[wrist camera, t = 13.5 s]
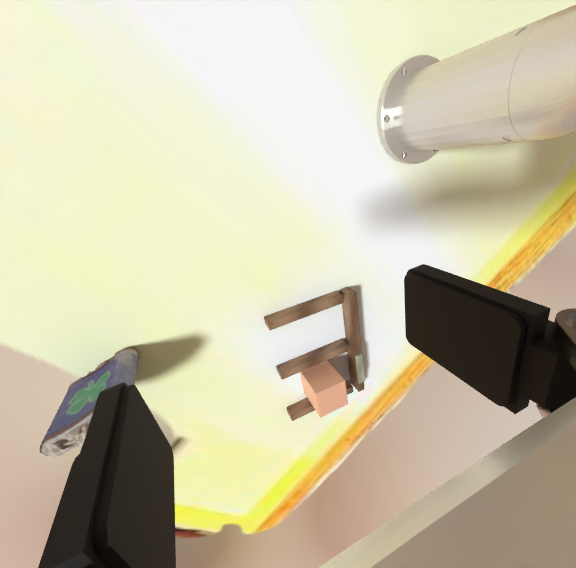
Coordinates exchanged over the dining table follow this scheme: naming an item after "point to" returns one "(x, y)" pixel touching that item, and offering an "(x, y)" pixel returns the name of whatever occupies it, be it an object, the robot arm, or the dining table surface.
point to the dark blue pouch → (86, 402)
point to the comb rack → (325, 352)
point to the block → (324, 388)
